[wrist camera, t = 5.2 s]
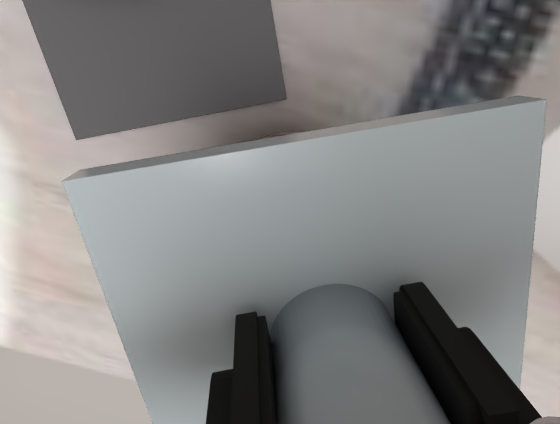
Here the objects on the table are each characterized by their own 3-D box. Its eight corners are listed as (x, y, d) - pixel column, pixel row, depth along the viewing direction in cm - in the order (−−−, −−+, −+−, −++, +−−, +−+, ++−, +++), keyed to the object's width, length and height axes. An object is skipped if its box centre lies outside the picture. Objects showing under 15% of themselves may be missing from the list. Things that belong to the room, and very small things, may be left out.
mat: (256, -81, 22) (256, -84, 22) (286, 98, 26) (286, 99, 26) (12, -35, 22) (8, -37, 22) (78, 138, 26) (76, 140, 26)
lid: (518, 95, 10) (878, 141, 4) (496, 417, 14) (666, 661, 8) (79, 169, 10) (-156, 318, 4) (187, 472, 14) (143, 759, 8)
